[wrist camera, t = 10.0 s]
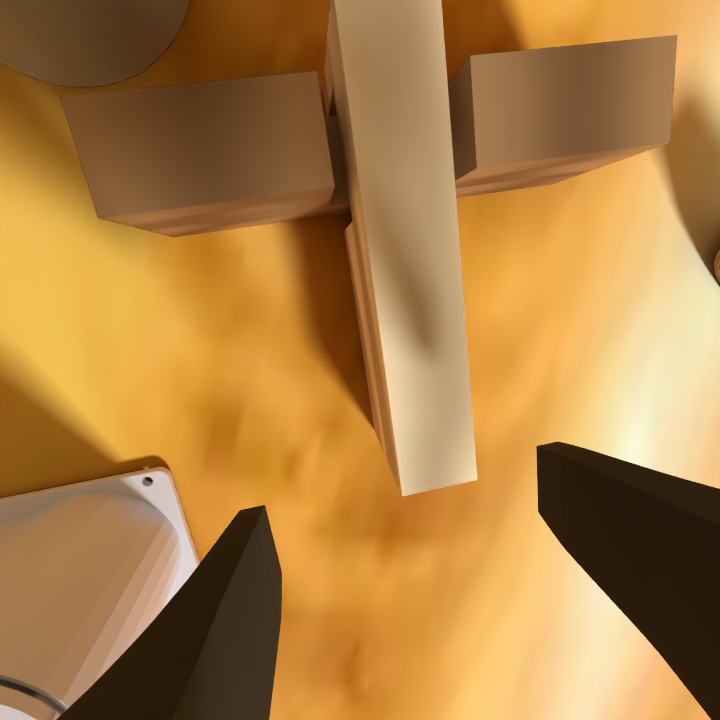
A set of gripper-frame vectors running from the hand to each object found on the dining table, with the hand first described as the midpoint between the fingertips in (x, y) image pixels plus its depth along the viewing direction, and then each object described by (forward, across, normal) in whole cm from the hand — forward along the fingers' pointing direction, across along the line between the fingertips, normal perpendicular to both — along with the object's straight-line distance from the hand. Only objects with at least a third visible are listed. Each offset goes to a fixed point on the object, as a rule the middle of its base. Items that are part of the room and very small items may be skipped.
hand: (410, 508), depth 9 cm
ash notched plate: (+10, -2, -6) cm, 12 cm away
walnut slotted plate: (+10, -2, -10) cm, 14 cm away
